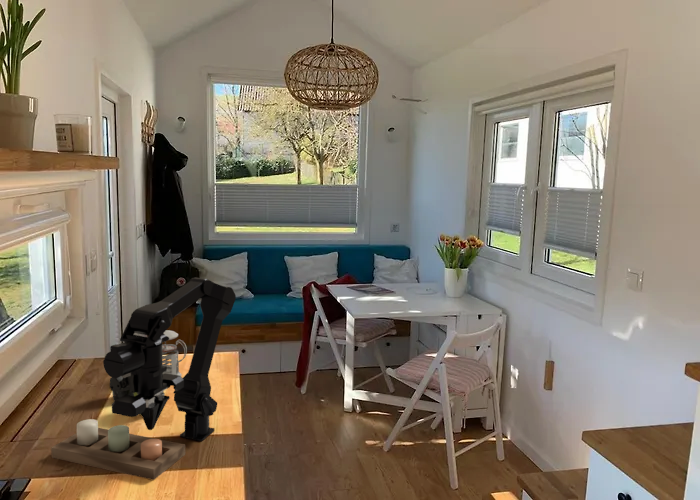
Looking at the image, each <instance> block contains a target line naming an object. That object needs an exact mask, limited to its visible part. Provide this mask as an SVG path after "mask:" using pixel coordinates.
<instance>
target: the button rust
mask: <svg viewBox="0 0 700 500" xmlns="http://www.w3.org/2000/svg"><path fill="white" fill-rule="evenodd" d="M161 440H162V439H160V440H159V439H158V438H154V439H148V440H145V441H143V442H142V443H141V458H142V459H147V460H151V461H155V460H157V459H158V458H159V457H160V456H162V441H161Z"/></svg>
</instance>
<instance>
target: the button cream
mask: <svg viewBox="0 0 700 500" xmlns="http://www.w3.org/2000/svg"><path fill="white" fill-rule="evenodd" d="M98 422H99V421H98V419H93V418H89V419H84V420H80V421H79V422H77V423H76V433H77V443H78V444H79V445H81V446H90V445H91V446H92V445H94V444H95V443H96V442H97V441H98V428H99V423H98Z"/></svg>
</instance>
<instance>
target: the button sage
mask: <svg viewBox="0 0 700 500" xmlns="http://www.w3.org/2000/svg"><path fill="white" fill-rule="evenodd" d="M129 434H130V427H129V426H128V425H125V424H120V425H119V424H118V425H114V426H111V427H110V428H108V448H109V451H112V452H113V453H120V452H125V451H126V449H128V448H129V446H130V444H129Z"/></svg>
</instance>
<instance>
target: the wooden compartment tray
mask: <svg viewBox="0 0 700 500" xmlns="http://www.w3.org/2000/svg"><path fill="white" fill-rule="evenodd" d="M108 430H109V428H102V427H98V441H97V442H96V443H94V444H91V446H90V445H89V446H85V445H79V444H78V443H77V432H76V433H74V434H72V435H71V436H69V437H67V438H65V439H64V440H62V441H60V442H58V443H56V444H55V445H53V446H52V447H50V449H51V450H50V451H51V458H53V459H56V460H62V461H66V462H71V463H76V464H79V465H84V466H85V465H86V466H90V467H93V468H98V469H102V470H103V469H104V470H108V471H112V472H117V473H121V474H125V475H130V476H135V477H138V478H144V479H148V480H152V481H154V480H156V479H157V478H158V477H159V476H161V475H162V474H163V473H164V472H166V470H168V469H170V467H172V466H173V465H174V464H175V463H176V462H178V461H180V459H181V458H183V457H184V456H185V455H186V444H185V443H180V442H173V441H170V440H164V439H159V440H161V441H162V456H160V457H159V458H158V459H157V460H155V461H151V460H147V459H142V458H141V443H142V442H143V441H145V440H148V439H155V438H154V437H148V436H143V435H139V434H134V433H133V434H132V433H129V444H130V446H129V448H128V449H126V450H124V451H122V453H119V452H112V451H109V448H108Z"/></svg>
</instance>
